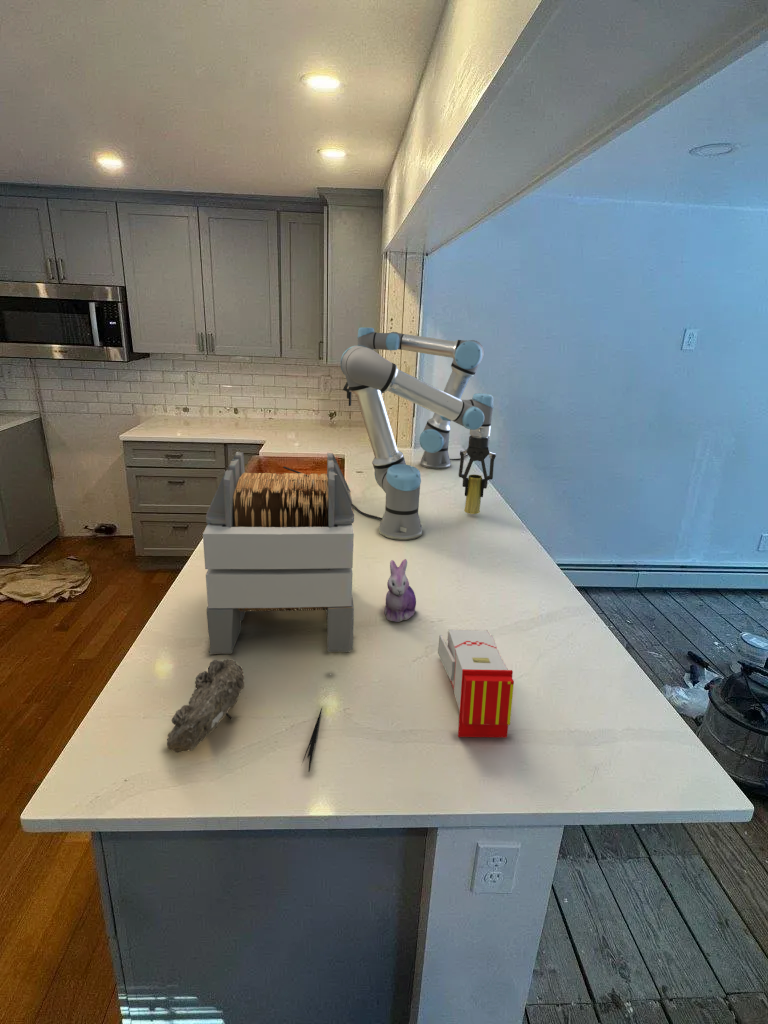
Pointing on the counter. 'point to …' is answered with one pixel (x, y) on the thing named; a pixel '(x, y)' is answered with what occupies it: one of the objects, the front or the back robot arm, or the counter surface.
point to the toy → (478, 682)
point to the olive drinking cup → (473, 494)
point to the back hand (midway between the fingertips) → (363, 406)
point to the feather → (313, 740)
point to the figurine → (399, 594)
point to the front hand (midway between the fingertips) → (473, 495)
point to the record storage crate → (279, 550)
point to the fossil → (206, 705)
